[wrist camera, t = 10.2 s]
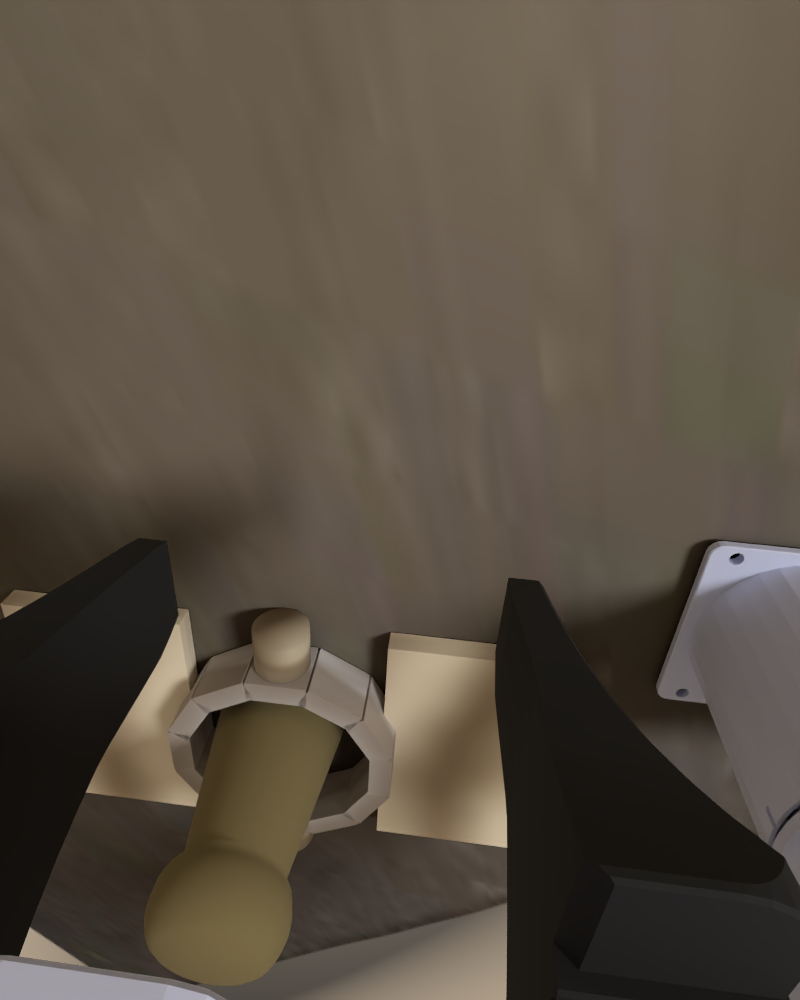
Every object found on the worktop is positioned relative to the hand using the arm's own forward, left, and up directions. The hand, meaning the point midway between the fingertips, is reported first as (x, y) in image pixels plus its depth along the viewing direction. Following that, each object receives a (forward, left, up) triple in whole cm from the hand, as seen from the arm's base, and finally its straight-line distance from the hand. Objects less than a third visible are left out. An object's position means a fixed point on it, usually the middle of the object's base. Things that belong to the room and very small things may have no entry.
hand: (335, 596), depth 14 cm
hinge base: (+4, +17, -10) cm, 20 cm away
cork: (+4, +16, -11) cm, 20 cm away
